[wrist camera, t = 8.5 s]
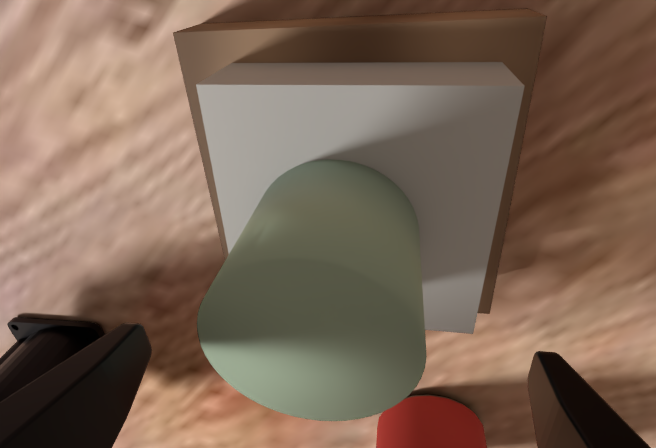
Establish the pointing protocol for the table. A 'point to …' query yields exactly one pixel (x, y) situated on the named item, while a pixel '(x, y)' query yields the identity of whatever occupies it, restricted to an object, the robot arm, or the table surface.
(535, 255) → the table surface
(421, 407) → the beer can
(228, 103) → the grey top slab
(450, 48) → the walnut base slab
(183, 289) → the table surface
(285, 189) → the green cylinder
